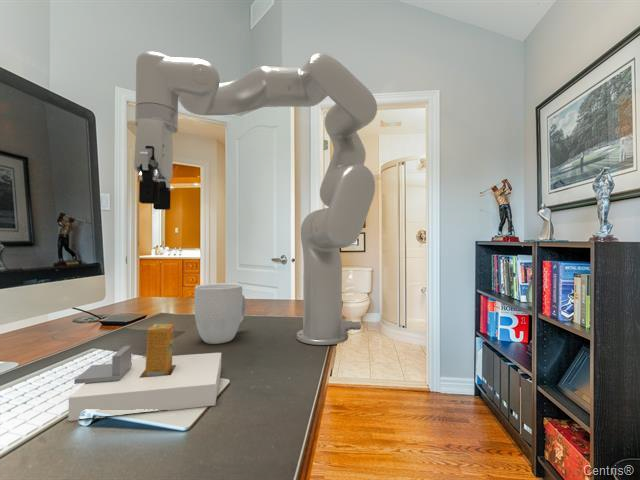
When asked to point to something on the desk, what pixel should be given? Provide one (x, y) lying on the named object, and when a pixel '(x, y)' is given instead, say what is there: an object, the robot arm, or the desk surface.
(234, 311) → the mug
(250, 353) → the desk surface
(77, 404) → the socket block
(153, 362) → the supplement box
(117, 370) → the grey l-shaped bracket
